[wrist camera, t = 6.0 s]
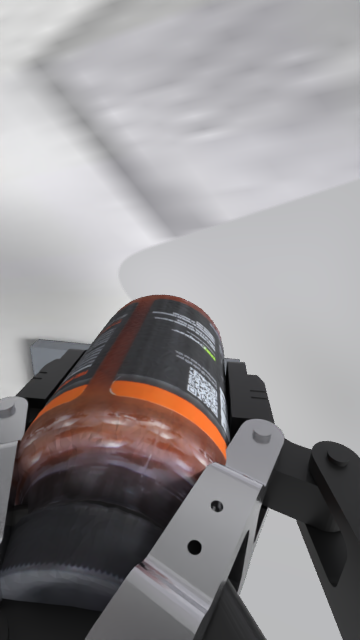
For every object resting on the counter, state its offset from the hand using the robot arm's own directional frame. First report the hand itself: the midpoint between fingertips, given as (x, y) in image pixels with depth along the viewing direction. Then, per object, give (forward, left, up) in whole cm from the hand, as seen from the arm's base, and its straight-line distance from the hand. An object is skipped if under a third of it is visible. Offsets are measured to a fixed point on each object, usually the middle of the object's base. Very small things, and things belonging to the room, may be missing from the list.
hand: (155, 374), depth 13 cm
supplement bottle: (0, 0, -3) cm, 3 cm away
